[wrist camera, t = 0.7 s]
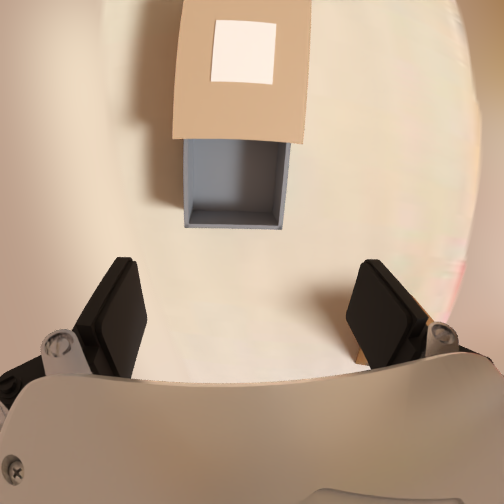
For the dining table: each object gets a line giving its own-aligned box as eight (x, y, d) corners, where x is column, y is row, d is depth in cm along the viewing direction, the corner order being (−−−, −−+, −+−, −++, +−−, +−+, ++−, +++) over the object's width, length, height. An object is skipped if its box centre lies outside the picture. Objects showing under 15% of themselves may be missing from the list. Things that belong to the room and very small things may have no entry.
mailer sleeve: (194, 3, 18) (186, -20, 13) (296, 9, 20) (311, -12, 14) (183, 135, 26) (172, 139, 20) (288, 139, 27) (303, 144, 21)
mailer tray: (193, 76, 22) (187, 68, 19) (285, 80, 23) (296, 73, 19) (190, 212, 29) (184, 227, 25) (274, 214, 30) (282, 229, 26)
